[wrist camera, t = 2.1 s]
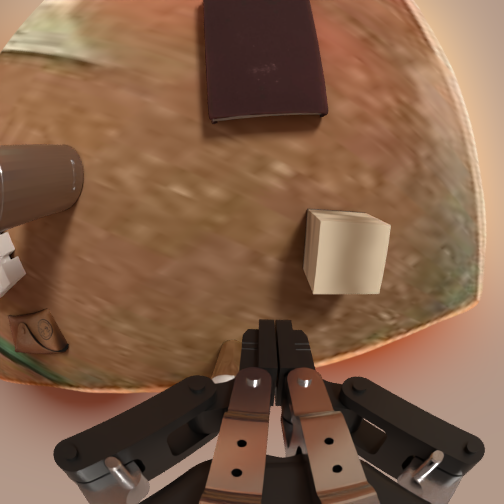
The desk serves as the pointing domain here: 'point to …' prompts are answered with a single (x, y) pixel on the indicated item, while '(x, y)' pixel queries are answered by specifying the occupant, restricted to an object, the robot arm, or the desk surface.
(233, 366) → the milkshake
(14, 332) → the sunglasses case
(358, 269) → the maple block
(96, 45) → the desk surface
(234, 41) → the book
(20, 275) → the organizer
